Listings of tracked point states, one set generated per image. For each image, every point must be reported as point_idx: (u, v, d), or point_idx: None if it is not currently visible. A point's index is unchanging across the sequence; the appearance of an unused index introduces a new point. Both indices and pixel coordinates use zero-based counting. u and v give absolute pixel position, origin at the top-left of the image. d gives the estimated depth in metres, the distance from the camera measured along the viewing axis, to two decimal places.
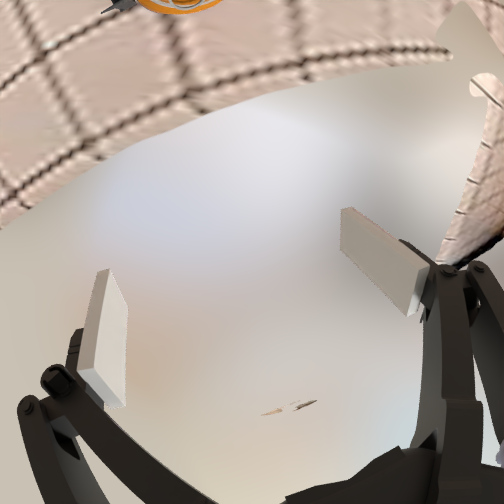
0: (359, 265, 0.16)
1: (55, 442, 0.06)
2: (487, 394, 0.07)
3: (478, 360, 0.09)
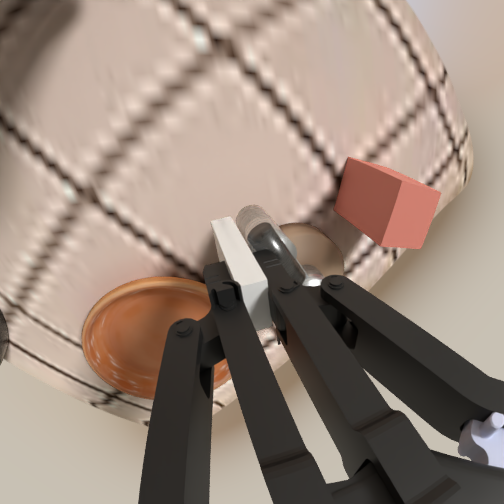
0: None
1: (197, 375, 0.09)
2: (410, 405, 0.08)
3: (381, 379, 0.09)
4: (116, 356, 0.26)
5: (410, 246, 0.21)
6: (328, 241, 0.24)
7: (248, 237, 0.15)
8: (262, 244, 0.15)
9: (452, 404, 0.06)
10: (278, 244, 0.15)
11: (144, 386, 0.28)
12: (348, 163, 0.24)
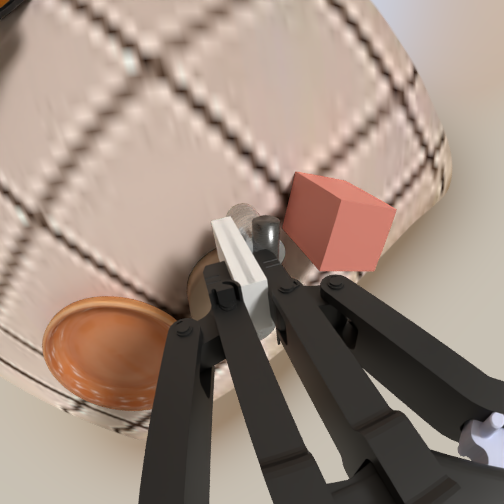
0: None
1: (198, 375, 0.09)
2: (410, 405, 0.08)
3: (381, 379, 0.09)
4: (78, 367, 0.26)
5: (359, 268, 0.20)
6: None
7: (252, 221, 0.15)
8: (266, 231, 0.14)
9: (452, 404, 0.06)
10: (277, 240, 0.15)
11: (105, 396, 0.27)
12: (295, 178, 0.23)
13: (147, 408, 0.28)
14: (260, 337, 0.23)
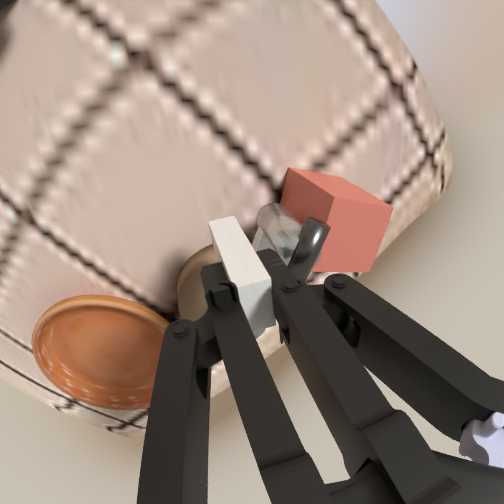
0: None
1: (194, 375, 0.09)
2: (412, 405, 0.08)
3: (383, 378, 0.09)
4: (68, 365, 0.25)
5: (353, 269, 0.20)
6: None
7: None
8: (319, 231, 0.15)
9: (453, 403, 0.06)
10: (322, 244, 0.15)
11: (96, 395, 0.27)
12: (288, 174, 0.22)
13: (138, 408, 0.28)
14: None
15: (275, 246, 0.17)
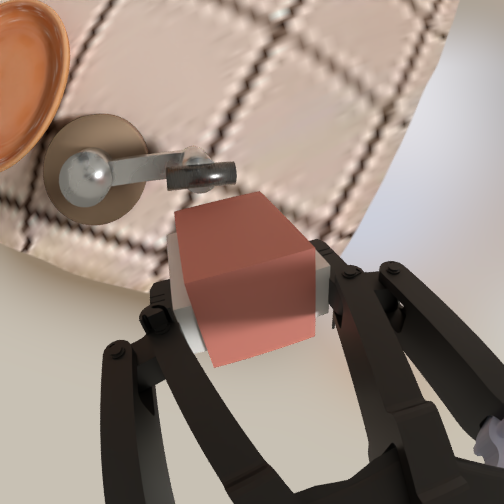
0: None
1: (136, 393, 0.08)
2: (440, 395, 0.08)
3: (419, 365, 0.09)
4: None
5: (210, 345, 0.12)
6: None
7: None
8: (231, 172, 0.17)
9: (476, 396, 0.06)
10: (220, 183, 0.17)
11: None
12: (253, 194, 0.17)
13: None
14: (65, 192, 0.18)
15: (190, 155, 0.17)
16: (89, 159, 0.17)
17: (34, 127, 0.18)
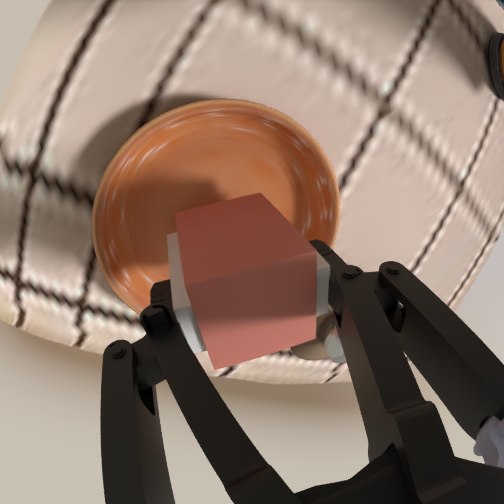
0: None
1: (137, 393, 0.08)
2: (440, 395, 0.08)
3: (419, 365, 0.09)
4: (161, 155, 0.16)
5: (210, 347, 0.12)
6: None
7: None
8: None
9: (476, 397, 0.06)
10: None
11: (109, 216, 0.16)
12: (254, 196, 0.17)
13: (121, 293, 0.18)
14: (333, 356, 0.23)
15: None
16: None
17: None
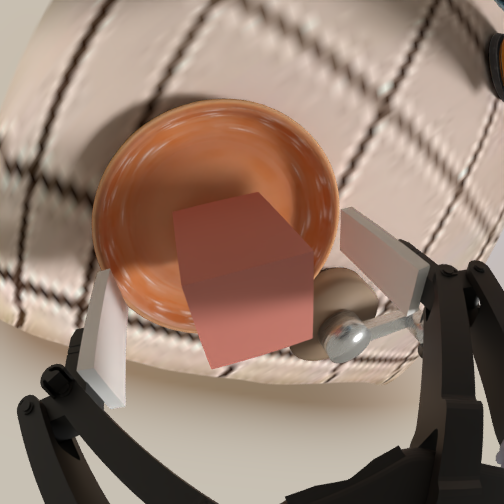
0: (358, 265, 0.16)
1: (55, 442, 0.06)
2: (487, 394, 0.07)
3: (478, 360, 0.09)
4: (160, 155, 0.16)
5: (207, 347, 0.12)
6: None
7: None
8: None
9: None
10: None
11: (109, 216, 0.16)
12: (251, 195, 0.16)
13: (121, 293, 0.18)
14: (333, 356, 0.23)
15: None
16: (361, 333, 0.22)
17: None
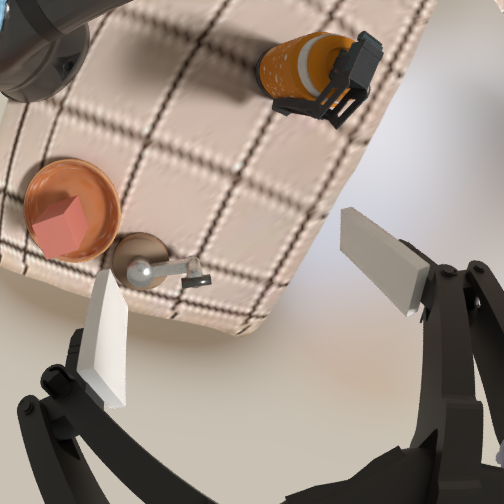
0: (358, 265, 0.16)
1: (55, 442, 0.06)
2: (487, 394, 0.07)
3: (478, 360, 0.09)
4: (47, 182, 0.34)
5: (42, 248, 0.30)
6: None
7: (209, 274, 0.41)
8: (209, 281, 0.40)
9: None
10: None
11: (30, 208, 0.34)
12: (74, 196, 0.35)
13: (35, 240, 0.36)
14: (130, 280, 0.41)
15: (191, 269, 0.41)
16: (142, 267, 0.40)
17: (102, 237, 0.41)
